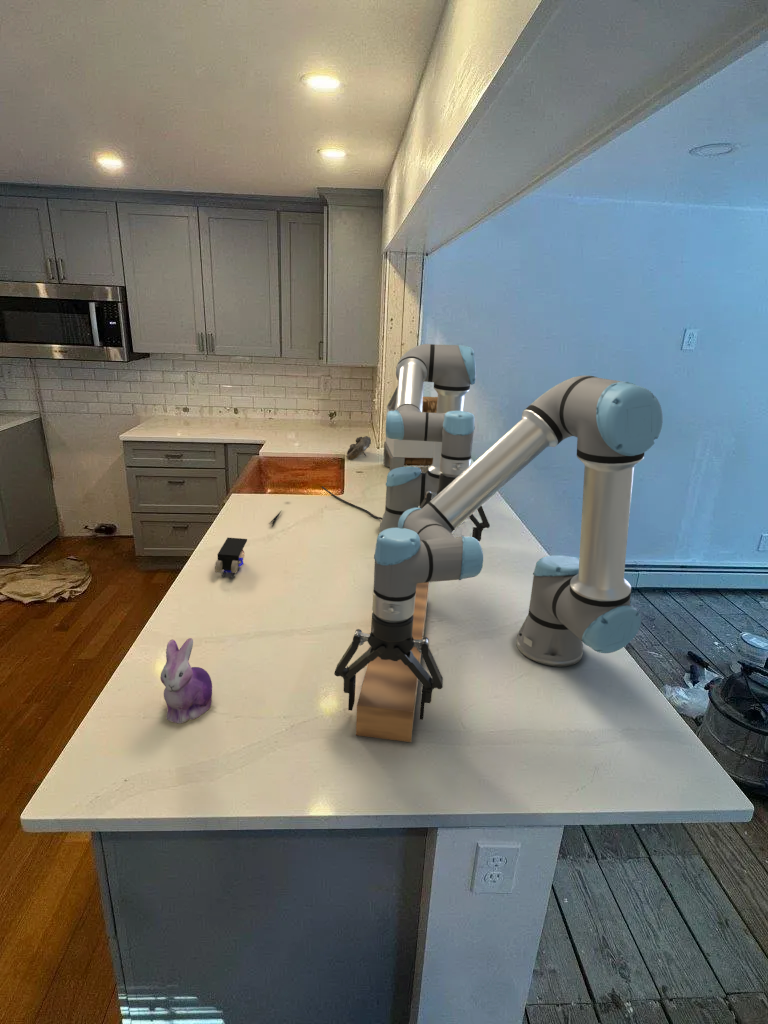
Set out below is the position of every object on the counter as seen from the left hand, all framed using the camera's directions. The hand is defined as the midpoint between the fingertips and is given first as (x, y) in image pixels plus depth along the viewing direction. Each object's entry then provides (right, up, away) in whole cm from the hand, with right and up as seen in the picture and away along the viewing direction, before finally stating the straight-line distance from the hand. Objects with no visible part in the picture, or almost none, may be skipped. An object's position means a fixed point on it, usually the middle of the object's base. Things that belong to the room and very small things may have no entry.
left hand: (447, 551), depth 150 cm
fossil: (-30, +40, +152) cm, 160 cm away
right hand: (-16, -28, -41) cm, 52 cm away
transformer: (0, +29, +125) cm, 129 cm away
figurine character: (-62, -7, +18) cm, 65 cm away
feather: (-56, +9, +63) cm, 85 cm away
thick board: (-14, -23, -20) cm, 33 cm away
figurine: (-55, -28, -40) cm, 73 cm away
